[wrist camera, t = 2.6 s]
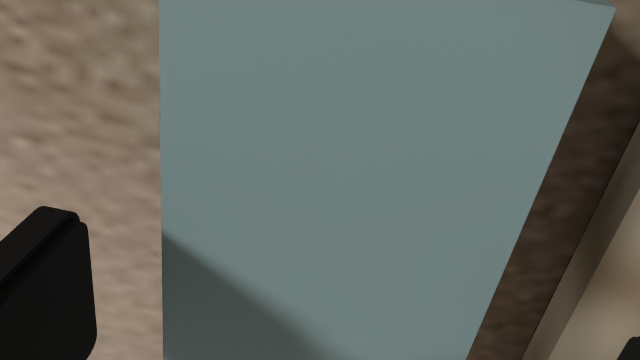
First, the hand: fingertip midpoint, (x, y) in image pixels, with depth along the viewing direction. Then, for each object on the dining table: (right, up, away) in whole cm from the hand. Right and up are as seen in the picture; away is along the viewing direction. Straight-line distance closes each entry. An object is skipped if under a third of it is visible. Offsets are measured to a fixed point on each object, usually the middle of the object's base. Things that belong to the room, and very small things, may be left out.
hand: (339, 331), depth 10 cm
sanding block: (+1, +5, +6) cm, 8 cm away
